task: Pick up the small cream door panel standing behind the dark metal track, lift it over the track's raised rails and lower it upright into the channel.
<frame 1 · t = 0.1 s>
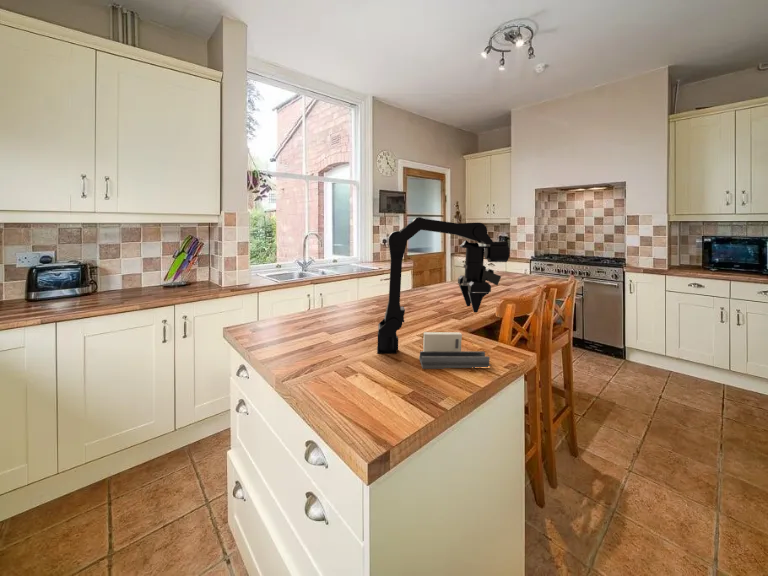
hand: (471, 309, 118), 14 cm above the counter, tool pointing down, fingers open, 9 cm apart
track: (453, 363, 108), on the counter
door panel: (441, 353, 117), on the counter
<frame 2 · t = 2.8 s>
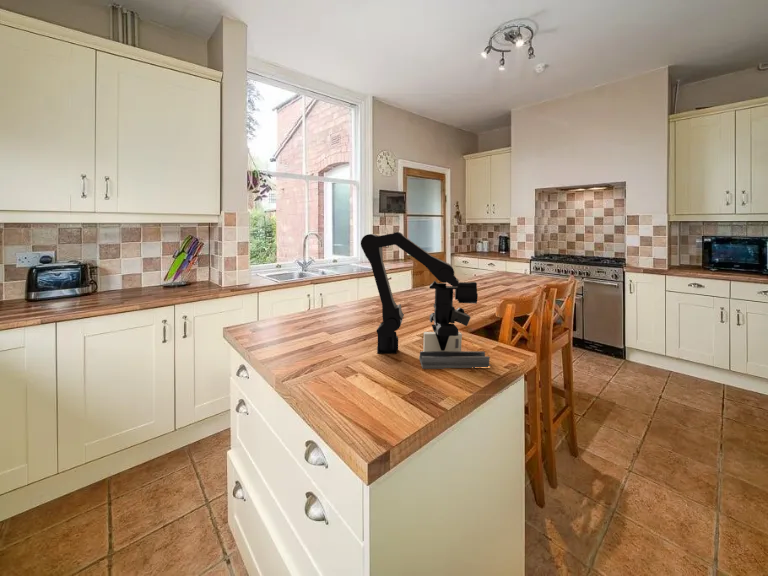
hand: (442, 349, 117), 2 cm above the counter, tool pointing down, fingers closed on door panel, 2 cm apart
door panel: (441, 353, 117), on the counter, touching gripper
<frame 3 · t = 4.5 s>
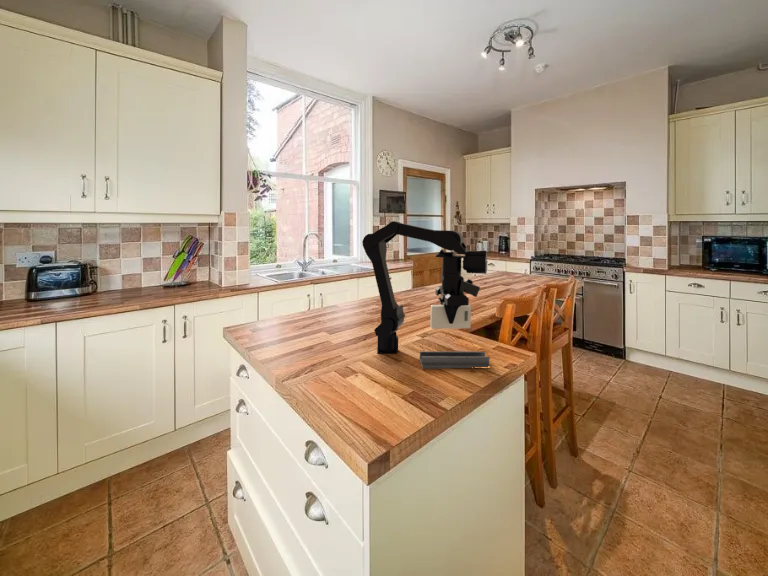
hand: (450, 322, 111), 12 cm above the counter, tool pointing down, fingers closed on door panel, 2 cm apart
door panel: (450, 327, 111), point 10 cm above the counter, touching gripper
when the fingers open (4 cm above the counter, at t = 6.4 s): door panel drops 1 cm, resting on track.
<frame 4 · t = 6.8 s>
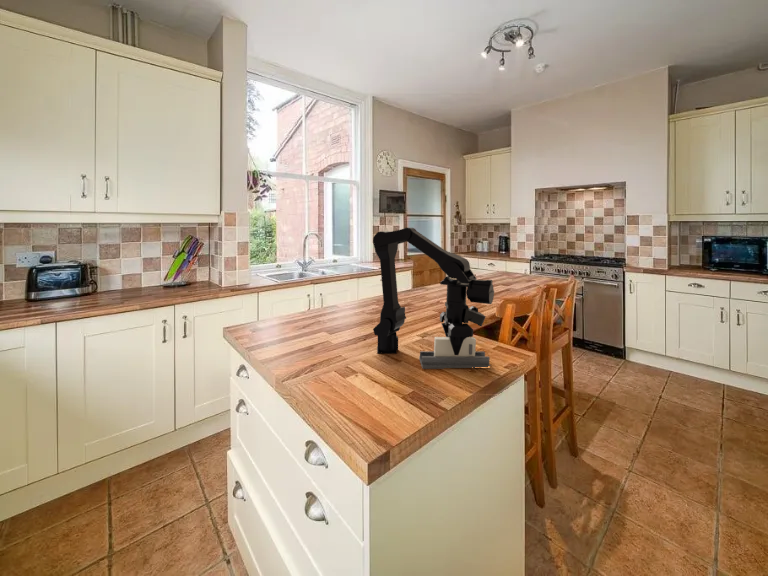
hand: (454, 351, 108), 4 cm above the counter, tool pointing down, fingers open, 6 cm apart
door panel: (454, 360, 108), point 1 cm above the counter, touching track
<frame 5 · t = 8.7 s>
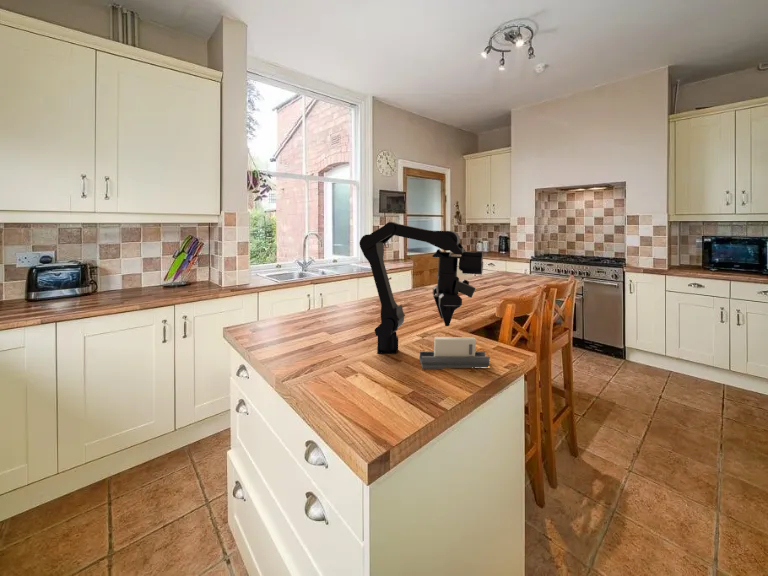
hand: (444, 322, 111), 12 cm above the counter, tool pointing down, fingers open, 9 cm apart
nothing on the counter moved.
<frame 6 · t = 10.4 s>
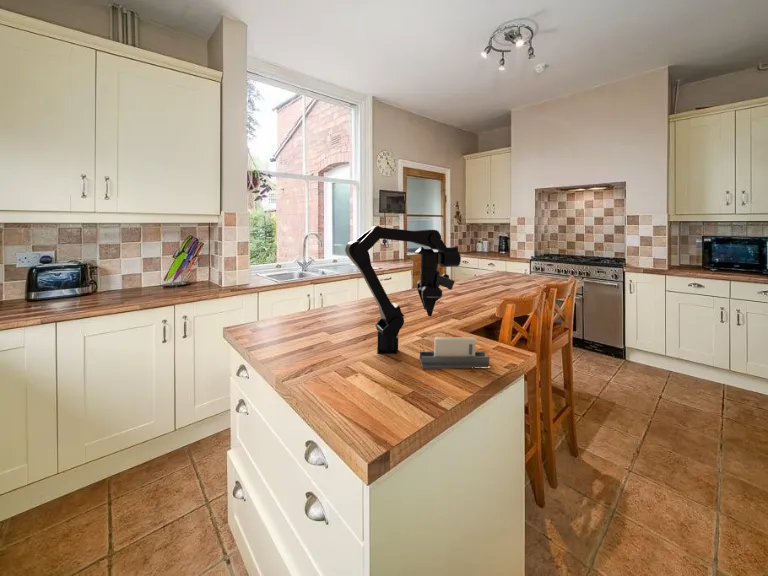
hand: (427, 312, 122), 12 cm above the counter, tool pointing down, fingers open, 9 cm apart
nothing on the counter moved.
at the end: door panel 0.1 cm off-centre on the track, point 1.0 cm above the track's base; door panel tilted 0°; the gripper is holding nothing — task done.
